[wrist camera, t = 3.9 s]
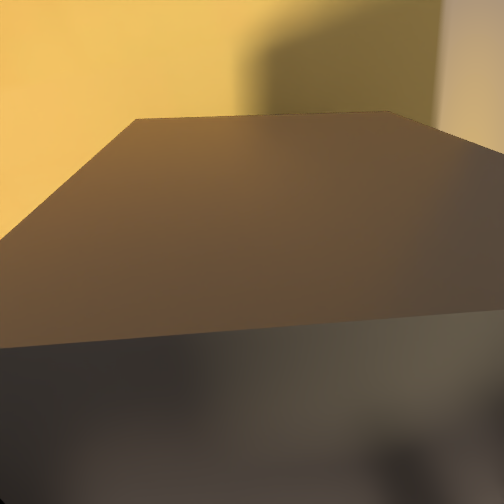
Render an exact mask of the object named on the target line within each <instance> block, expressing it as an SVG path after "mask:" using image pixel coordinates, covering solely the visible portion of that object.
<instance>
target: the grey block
mask: <svg viewBox="0 0 504 504" xmlns="http://www.w3.org/2000/svg"><path fill="white" fill-rule="evenodd" d="M0 499H1V500H2V501H3V502H4V503H5V504H504V154H502V153H499V152H496V151H493V150H491V149H488V148H485V147H483V146H480V145H477V144H475V143H472V142H469V141H467V140H464V139H461V138H459V137H456V136H453V135H450V134H448V133H445V132H442V131H440V130H437V129H435V128H432V127H429V126H427V125H424V124H421V123H418V122H416V121H413V120H410V119H408V118H405V117H402V116H400V115H397V114H394V113H392V112H389V111H378V112H346V113H314V114H281V115H249V116H217V117H185V118H152V119H135V120H134V121H133V122H132V123H131V124H130V125H129V126H128V127H126V128H125V129H124V130H123V131H122V132H121V133H120V134H119V135H118V136H116V137H115V138H114V139H113V140H112V141H111V142H110V143H109V144H107V145H106V146H105V147H104V148H103V149H102V150H101V151H100V152H99V153H97V154H96V155H95V156H94V157H93V158H92V159H91V160H90V161H88V162H87V163H86V164H85V165H84V166H83V167H82V168H81V169H79V170H78V171H77V172H76V173H75V174H74V175H73V176H72V177H71V178H69V179H68V180H67V181H66V182H65V183H64V184H63V185H62V186H60V187H59V188H58V189H57V190H56V191H55V192H54V193H53V194H51V195H50V196H49V197H48V198H47V199H46V200H45V201H44V202H43V203H41V204H40V205H39V206H38V207H37V208H36V209H35V210H34V211H32V212H31V213H30V214H29V215H28V216H27V217H26V218H25V219H23V220H22V221H21V222H20V223H19V224H18V225H17V226H16V227H15V228H13V229H12V230H11V231H10V232H9V233H8V234H7V235H6V236H4V237H3V238H2V239H1V240H0Z"/></svg>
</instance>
